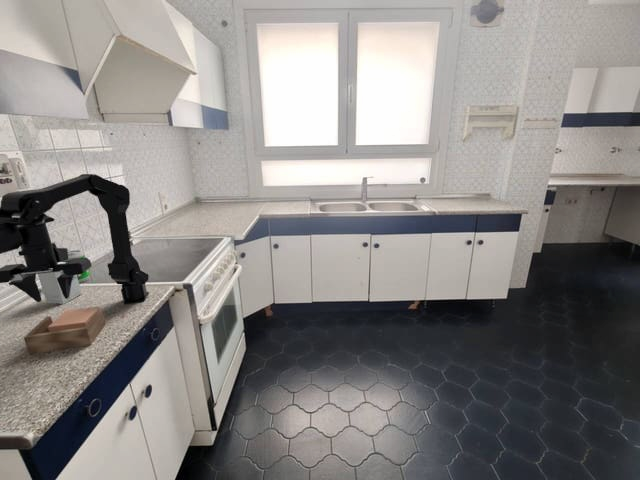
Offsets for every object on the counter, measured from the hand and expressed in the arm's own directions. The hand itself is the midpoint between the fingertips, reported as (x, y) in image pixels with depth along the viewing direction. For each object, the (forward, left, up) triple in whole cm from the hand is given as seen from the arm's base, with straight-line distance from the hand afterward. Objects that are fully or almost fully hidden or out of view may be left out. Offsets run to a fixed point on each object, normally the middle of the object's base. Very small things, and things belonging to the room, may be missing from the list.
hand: (53, 299), depth 81 cm
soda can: (+16, -46, -13) cm, 51 cm away
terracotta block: (0, -7, -13) cm, 15 cm away
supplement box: (+14, -30, -13) cm, 36 cm away
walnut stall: (0, -2, -13) cm, 13 cm away
